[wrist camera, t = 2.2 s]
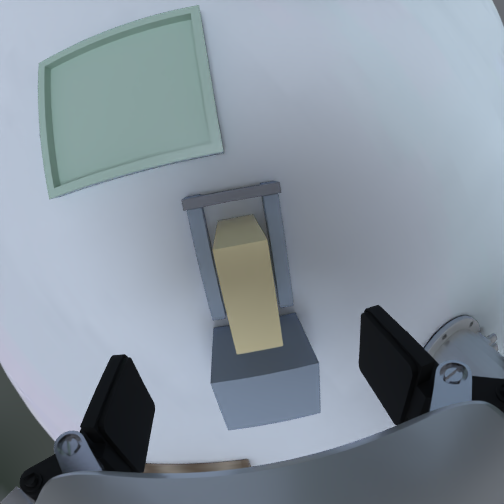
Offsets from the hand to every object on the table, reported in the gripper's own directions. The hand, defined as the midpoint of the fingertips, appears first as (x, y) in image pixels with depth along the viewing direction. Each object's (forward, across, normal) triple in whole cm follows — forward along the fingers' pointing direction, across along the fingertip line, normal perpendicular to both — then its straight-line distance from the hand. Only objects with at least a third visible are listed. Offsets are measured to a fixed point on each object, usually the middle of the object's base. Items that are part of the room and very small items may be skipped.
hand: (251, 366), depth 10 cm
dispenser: (+15, -1, +4) cm, 16 cm away
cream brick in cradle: (+15, -1, +1) cm, 15 cm away
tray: (+16, +7, -15) cm, 23 cm away
